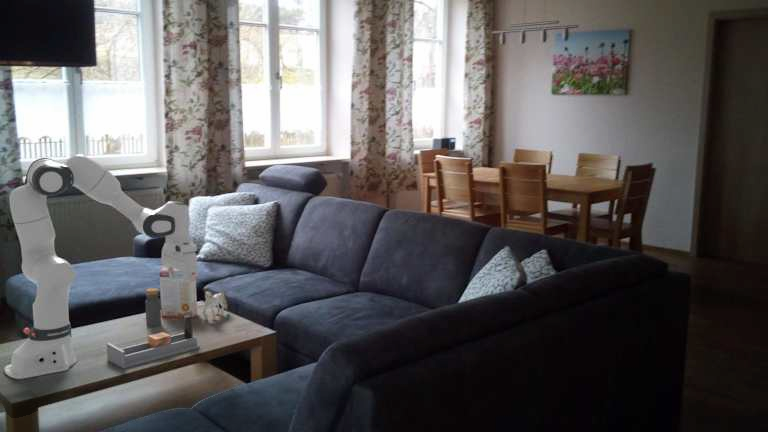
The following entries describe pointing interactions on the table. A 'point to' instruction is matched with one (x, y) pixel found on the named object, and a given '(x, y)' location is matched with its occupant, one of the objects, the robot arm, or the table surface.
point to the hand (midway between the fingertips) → (178, 280)
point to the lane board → (148, 351)
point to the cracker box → (177, 294)
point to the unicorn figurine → (214, 303)
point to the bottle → (153, 308)
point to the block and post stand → (165, 339)
